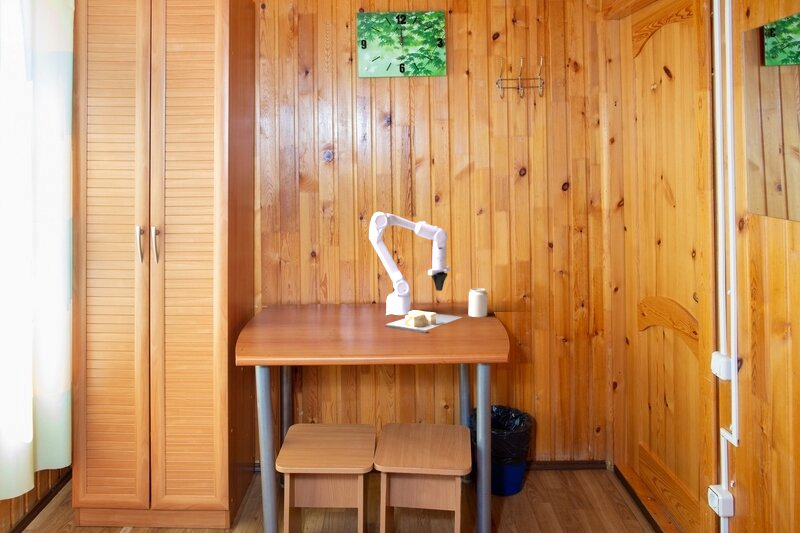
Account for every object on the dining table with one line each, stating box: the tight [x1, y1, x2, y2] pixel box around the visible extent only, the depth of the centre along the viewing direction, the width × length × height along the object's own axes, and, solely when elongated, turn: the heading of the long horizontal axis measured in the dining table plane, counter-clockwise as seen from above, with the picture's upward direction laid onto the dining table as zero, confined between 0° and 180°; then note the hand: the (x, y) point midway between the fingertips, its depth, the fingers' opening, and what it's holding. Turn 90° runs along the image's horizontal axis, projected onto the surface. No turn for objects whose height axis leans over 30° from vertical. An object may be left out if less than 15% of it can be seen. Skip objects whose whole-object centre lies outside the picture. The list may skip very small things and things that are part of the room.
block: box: [404, 309, 437, 328], centre depth 253 cm, size 10×11×4 cm
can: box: [468, 287, 488, 318], centre depth 269 cm, size 8×8×12 cm
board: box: [385, 313, 463, 334], centre depth 259 cm, size 18×28×1 cm, turn 146°
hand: (439, 290), depth 274 cm, fingers closed
